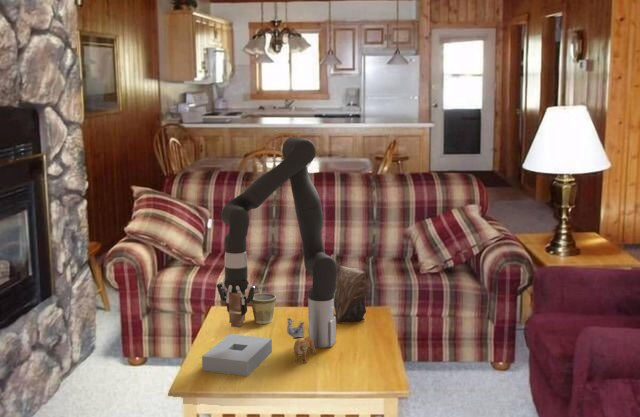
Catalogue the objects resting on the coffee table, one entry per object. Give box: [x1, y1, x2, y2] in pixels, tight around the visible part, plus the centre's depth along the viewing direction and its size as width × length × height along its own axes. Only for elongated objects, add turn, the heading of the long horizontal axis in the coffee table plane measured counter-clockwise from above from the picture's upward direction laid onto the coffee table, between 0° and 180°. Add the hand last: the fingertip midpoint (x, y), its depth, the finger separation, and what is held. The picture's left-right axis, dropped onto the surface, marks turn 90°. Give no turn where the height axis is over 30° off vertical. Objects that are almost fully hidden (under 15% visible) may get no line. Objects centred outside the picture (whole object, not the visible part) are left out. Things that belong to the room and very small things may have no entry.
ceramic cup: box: [250, 292, 277, 325], centre depth 308 cm, size 13×10×10 cm
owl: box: [334, 265, 368, 324], centre depth 309 cm, size 13×13×20 cm
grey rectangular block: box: [201, 333, 273, 377], centre depth 267 cm, size 16×22×5 cm
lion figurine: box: [293, 336, 317, 364], centre depth 268 cm, size 15×5×9 cm, turn 165°
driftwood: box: [286, 317, 306, 339], centre depth 299 cm, size 21×7×2 cm, turn 1°
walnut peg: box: [228, 292, 246, 328], centre depth 264 cm, size 4×4×12 cm
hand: (237, 313), depth 264 cm, fingers closed on walnut peg, 4 cm apart
